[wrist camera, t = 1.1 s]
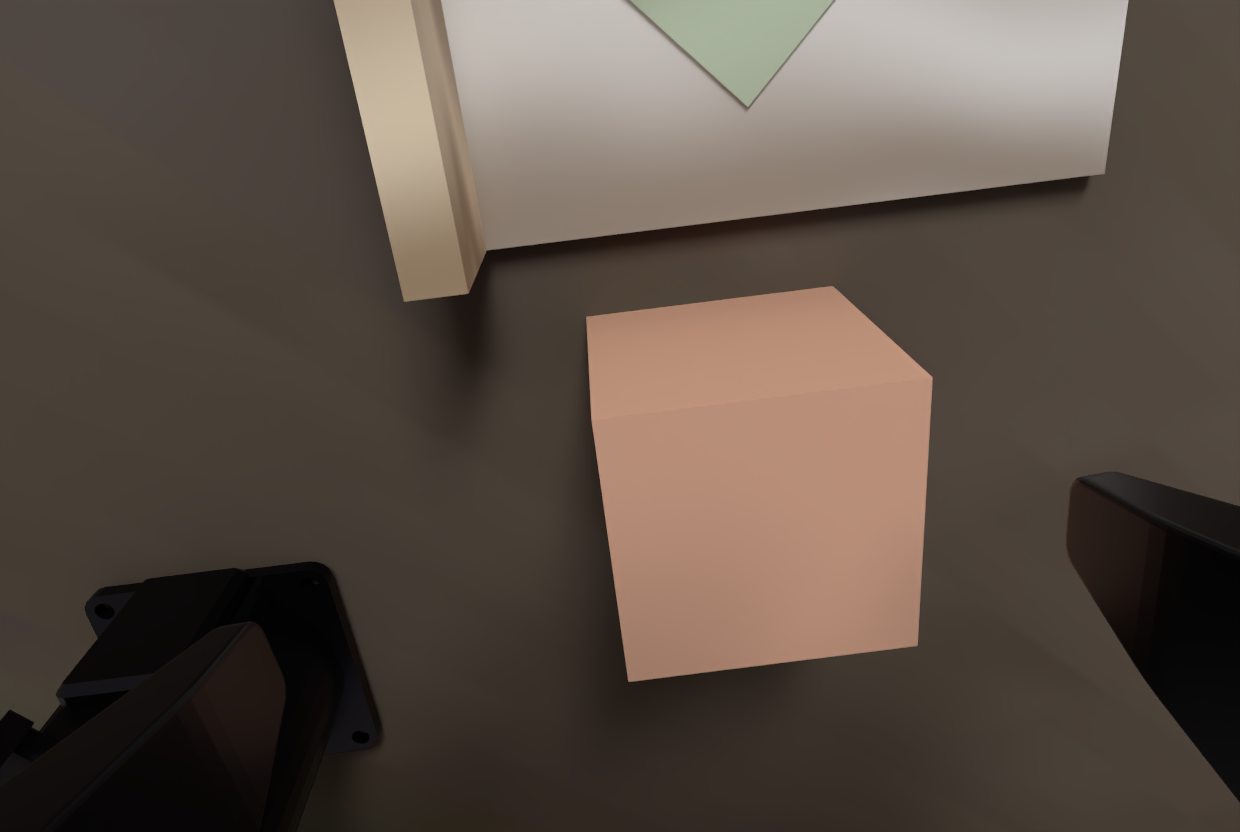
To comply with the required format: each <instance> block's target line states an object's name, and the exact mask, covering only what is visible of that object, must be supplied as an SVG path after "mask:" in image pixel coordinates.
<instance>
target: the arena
mask: <svg viewBox="0 0 1240 832" xmlns="http://www.w3.org/2000/svg"><path fill="white" fill-rule="evenodd" d="M334 3H335V8H336V12H337V16H338V21H339V25H340V29H341V33H342V38H343V42H344V46H345V51H346V55H347V59H348V63H349V68H350V72H351V76H352V80H353V85H354V89H355V93H356V98H357V102H358V106H359V110H360V115H361V119H362V123H363V128H364V132H365V136H366V140H367V145H368V149H369V153H370V158H371V162H372V166H373V170H374V175H375V179H376V183H377V188H378V192H379V196H380V200H381V205H382V209H383V213H384V218H385V222H386V226H387V230H388V235H389V239H390V243H391V248H392V252H393V256H394V260H395V265H396V269H397V273H398V278H399V282H400V286H401V290H402V295H403V299H404V302H406V301H414V300H422V299H430V298H438V297H446V296H454V295H462V294H469V291H470V289H471V287H472V284H473V282H474V280H475V277H476V275H477V272H478V270H479V268H480V265H481V263H482V261H483V258H484V256H485V254H486V251H487V250H494V249H503V248H511V247H519V246H527V245H535V244H543V243H551V242H559V241H567V240H575V239H583V238H591V237H599V236H607V235H615V234H623V233H631V232H639V231H647V230H655V229H663V228H672V227H680V226H688V225H696V224H704V223H712V222H720V221H728V220H736V219H744V218H752V217H760V216H768V215H776V214H784V213H792V212H800V211H808V210H816V209H824V208H833V207H841V206H849V205H857V204H865V203H873V202H881V201H889V200H897V199H905V198H913V197H921V196H929V195H937V194H945V193H953V192H961V191H969V190H977V189H985V188H994V187H1002V186H1010V185H1018V184H1026V183H1034V182H1042V181H1050V180H1058V179H1066V178H1074V177H1082V176H1090V175H1098V174H1105V166H1106V159H1107V152H1108V145H1109V137H1110V130H1111V123H1112V115H1113V108H1114V101H1115V94H1116V86H1117V79H1118V72H1119V65H1120V57H1121V50H1122V43H1123V36H1124V28H1125V21H1126V14H1127V6H1128V0H334Z"/></svg>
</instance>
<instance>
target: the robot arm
mask: <svg viewBox="0 0 1240 832" xmlns="http://www.w3.org/2000/svg"><path fill="white" fill-rule="evenodd" d="M1066 550H1067V554H1068V557H1069V559H1070V562H1071V564H1072V565H1073V567H1074V569H1075V570H1076V572H1077V574H1078V575H1079V577H1080V578H1081V580H1082V582H1083V583H1084V585H1085V586H1086V588H1087V590H1088V591H1089V593H1090V594H1091V596H1092V598H1093V599H1094V601H1095V602H1096V604H1097V606H1098V607H1099V609H1100V610H1101V612H1102V614H1103V615H1104V617H1105V618H1106V620H1107V622H1108V623H1109V625H1110V626H1111V628H1112V630H1113V631H1114V633H1115V634H1116V636H1117V638H1118V639H1119V641H1120V642H1121V644H1122V646H1123V647H1124V649H1125V650H1126V652H1127V654H1128V655H1129V657H1130V658H1131V660H1132V662H1133V663H1134V664H1135V666H1136V667H1137V669H1138V670H1139V672H1140V673H1141V675H1142V676H1143V678H1144V679H1145V681H1146V682H1147V684H1148V685H1149V686H1150V688H1151V689H1152V690H1153V692H1154V693H1155V694H1156V696H1157V697H1158V698H1159V700H1160V701H1161V702H1162V704H1163V705H1164V706H1165V707H1166V709H1167V710H1168V711H1169V712H1170V714H1171V715H1172V716H1173V718H1174V719H1175V720H1176V721H1177V723H1178V724H1179V725H1180V727H1181V728H1182V729H1183V730H1184V732H1185V733H1186V734H1187V736H1188V737H1189V738H1190V739H1191V741H1192V742H1193V743H1194V744H1195V746H1196V747H1197V748H1198V750H1199V751H1200V752H1201V753H1202V755H1203V756H1204V757H1205V759H1206V760H1207V761H1208V762H1209V764H1210V765H1211V766H1212V768H1213V769H1214V770H1215V771H1216V773H1217V774H1218V775H1219V776H1220V778H1221V779H1222V780H1223V782H1224V783H1225V784H1226V785H1227V787H1228V788H1229V789H1230V791H1231V792H1232V793H1233V794H1234V796H1235V797H1236V798H1237V800H1238V801H1239V802H1240V506H1237V505H1233V504H1230V503H1226V502H1223V501H1219V500H1215V499H1212V498H1208V497H1205V496H1201V495H1198V494H1194V493H1190V492H1187V491H1183V490H1180V489H1176V488H1173V487H1169V486H1165V485H1162V484H1158V483H1155V482H1151V481H1148V480H1144V479H1140V478H1137V477H1133V476H1130V475H1126V474H1122V473H1119V472H1105V473H1100V474H1094V475H1088V476H1083V477H1079V478H1077V479H1076V480H1075V481H1074V482H1073V483H1072V485H1071V487H1070V492H1069V503H1068V515H1067V528H1066ZM306 578H312V579H314V580H316V581H317V582H318V583H319V584H317V585H314V584H310V583H308V582H307V581H306ZM104 604H107V605H109V606H111V607H112V608H113V609H114V610H112V609H109V608H107V607H106V606H105V605H104ZM85 612H86V615H87V617H88V619H89V621H90V623H91V625H92V627H93V629H94V631H95V633H96V635H97V637H98V639H97V640H96V642H95V643H94V644H93V645H92V647H91V648H90V649H89V650H88V652H87V653H86V654H85V655H84V656H83V658H82V659H81V660H80V661H79V663H78V664H77V665H76V666H75V668H74V669H73V670H72V671H71V673H70V674H69V675H68V676H67V678H66V679H65V680H64V681H63V683H62V684H61V686H60V687H59V689H58V691H57V693H56V696H57V698H58V700H59V702H60V705H59V707H58V708H57V709H56V710H55V712H54V713H53V714H52V716H51V717H50V718H49V719H48V721H47V722H46V723H45V725H44V726H43V727H42V728H41V730H40V731H38V730H36V729H34V728H32V725H33V724H34V722H32V721H31V720H29V719H27V718H25V717H23V716H21V715H19V714H17V713H15V712H13V711H12V710H9V711H8V712H7V713H6V714H5V715H4V717H3V718H2V719H1V720H0V832H296V831H297V828H298V825H299V822H300V820H301V817H302V814H303V811H304V808H305V805H306V803H307V800H308V797H309V794H310V791H311V788H312V786H313V783H314V780H315V777H316V774H317V771H318V769H319V766H320V763H321V760H322V757H323V755H325V754H333V753H341V752H349V751H357V750H365V749H369V748H371V747H373V746H374V745H375V744H376V742H377V741H378V737H379V734H380V730H381V726H380V722H379V719H378V716H377V712H376V709H375V706H374V703H373V700H372V697H371V694H370V691H369V687H368V684H367V681H366V678H365V675H364V672H363V669H362V666H361V662H360V659H359V656H358V653H357V650H356V647H355V644H354V641H353V637H352V634H351V631H350V628H349V625H348V622H347V619H346V616H345V612H344V609H343V606H342V603H341V600H340V597H339V594H338V591H337V587H336V584H335V581H334V578H333V575H332V573H331V571H330V570H329V568H327V567H326V566H325V565H323V564H321V563H318V562H303V563H295V564H287V565H279V566H271V567H263V568H255V569H247V570H242V569H237V568H230V569H222V570H214V571H206V572H198V573H190V574H182V575H174V576H166V577H158V578H150V579H147V580H145V581H144V582H143V583H135V584H127V585H119V586H111V587H104V588H101V589H99V590H97V591H96V592H95V593H94V594H93V595H92V597H91V598H90V599H89V600H88V601H87V602H86V605H85ZM359 731H364V732H366V733H361V732H359Z"/></svg>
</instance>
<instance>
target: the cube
mask: <svg viewBox="0 0 1240 832" xmlns="http://www.w3.org/2000/svg"><path fill="white" fill-rule="evenodd" d="M586 321H587V341H588V360H589V380H590V400H591V419H592V427H593V434H594V441H595V448H596V455H597V462H598V470H599V477H600V484H601V491H602V498H603V505H604V512H605V519H606V526H607V534H608V541H609V548H610V555H611V562H612V569H613V576H614V583H615V590H616V597H617V605H618V612H619V619H620V626H621V633H622V640H623V647H624V654H625V661H626V669H627V676H628V682H632V681H640V680H648V679H656V678H664V677H672V676H680V675H688V674H696V673H704V672H712V671H720V670H728V669H736V668H744V667H752V666H760V665H768V664H776V663H784V662H792V661H800V660H808V659H816V658H824V657H832V656H840V655H848V654H856V653H864V652H872V651H880V650H888V649H896V648H904V647H912V646H917V645H918V628H919V610H920V592H921V574H922V556H923V539H924V521H925V503H926V485H927V467H928V449H929V432H930V414H931V396H932V378H933V377H931V376H930V375H929V374H928V373H927V372H926V371H925V370H924V369H923V368H922V367H921V366H919V365H918V364H917V363H916V362H915V361H914V360H913V359H912V358H911V357H910V356H909V355H907V354H906V353H905V352H904V351H903V350H902V349H901V348H900V347H899V346H898V345H897V344H895V343H894V342H893V341H892V340H891V339H890V338H889V337H888V336H887V335H886V334H885V333H883V332H882V331H881V330H880V329H879V328H878V327H877V326H876V325H875V324H874V323H873V322H871V321H870V320H869V319H868V318H867V317H866V316H865V315H864V314H863V313H862V312H861V311H859V310H858V309H857V308H856V307H855V306H854V305H853V304H852V303H851V302H850V301H848V300H847V299H846V298H845V297H844V296H843V295H842V294H841V293H840V292H839V291H838V290H836V289H835V288H834V287H833V286H830V287H822V288H814V289H806V290H798V291H790V292H782V293H774V294H766V295H758V296H750V297H742V298H734V299H726V300H718V301H710V302H701V303H693V304H685V305H677V306H669V307H661V308H653V309H645V310H637V311H629V312H621V313H613V314H605V315H597V316H589V317H586Z"/></svg>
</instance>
